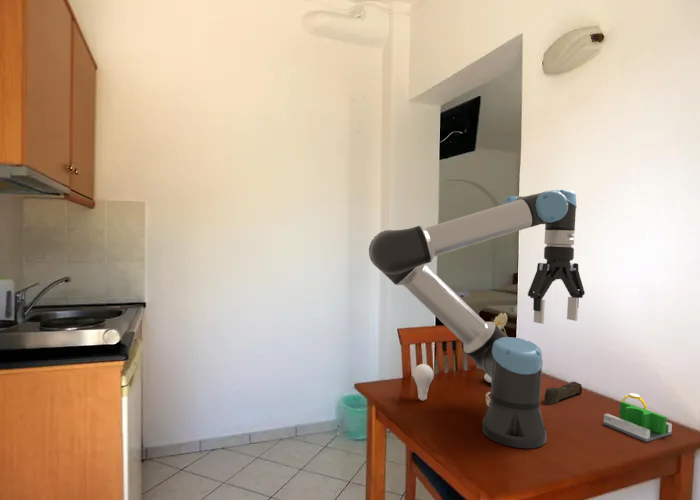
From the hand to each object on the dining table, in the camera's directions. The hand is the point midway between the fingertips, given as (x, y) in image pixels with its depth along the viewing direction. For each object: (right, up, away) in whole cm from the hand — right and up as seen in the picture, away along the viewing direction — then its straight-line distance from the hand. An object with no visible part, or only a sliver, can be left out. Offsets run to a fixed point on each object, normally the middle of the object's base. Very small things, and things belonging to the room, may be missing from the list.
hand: (555, 321), depth 123 cm
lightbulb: (-36, -26, +9) cm, 45 cm away
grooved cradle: (+18, -28, -7) cm, 34 cm away
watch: (+24, -28, +3) cm, 37 cm away
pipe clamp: (+19, -27, -7) cm, 34 cm away
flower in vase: (-6, -26, +26) cm, 37 cm away
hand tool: (+9, -27, +14) cm, 32 cm away
